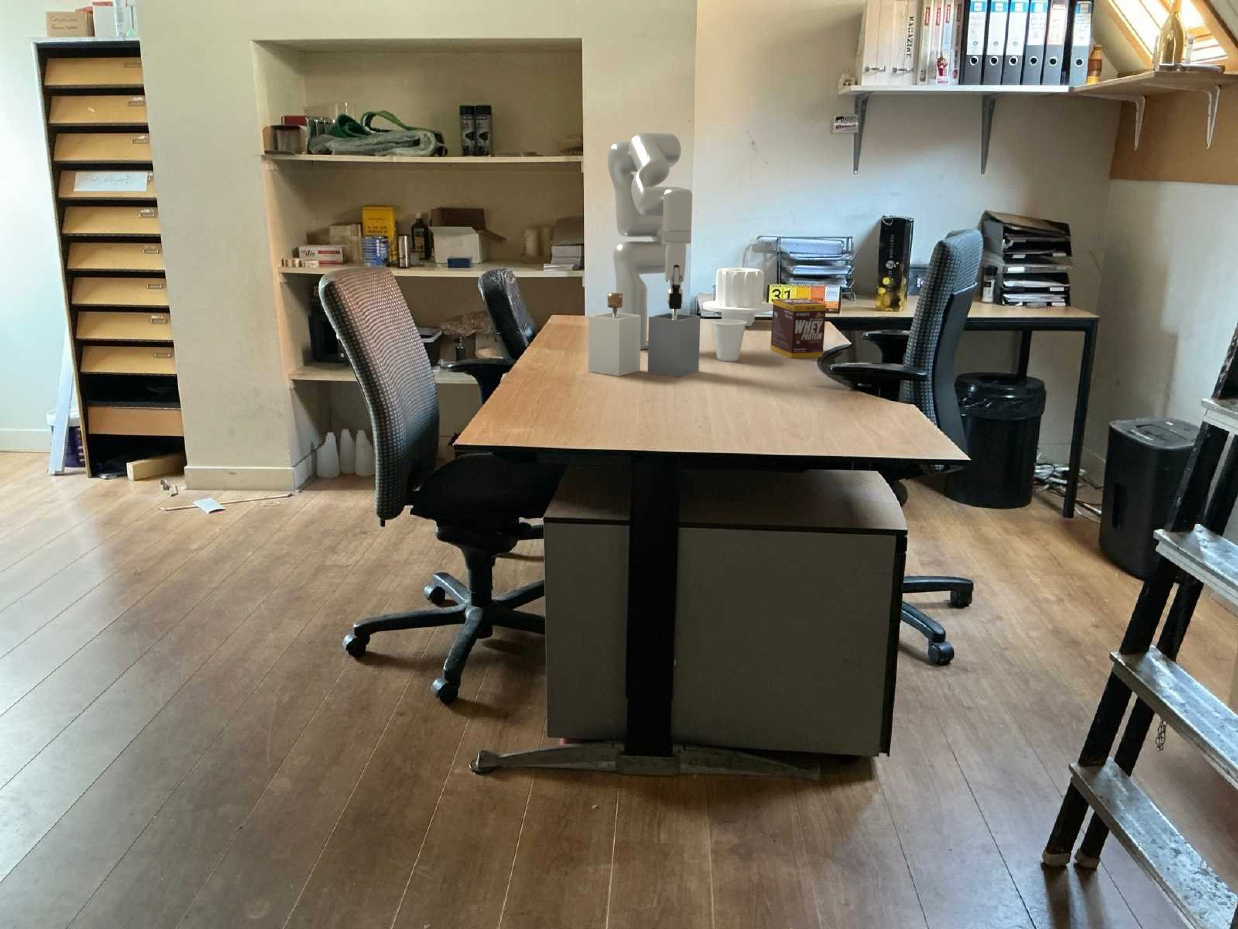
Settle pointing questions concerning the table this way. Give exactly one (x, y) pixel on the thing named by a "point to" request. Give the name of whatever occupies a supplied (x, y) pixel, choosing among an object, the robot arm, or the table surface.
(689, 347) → the grey open box
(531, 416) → the table surface
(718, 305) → the flanged gear
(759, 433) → the table surface
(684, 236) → the robot arm
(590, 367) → the white open box
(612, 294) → the bronze knobbed rod
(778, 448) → the table surface
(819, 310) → the supplement box
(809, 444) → the table surface
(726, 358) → the cup
